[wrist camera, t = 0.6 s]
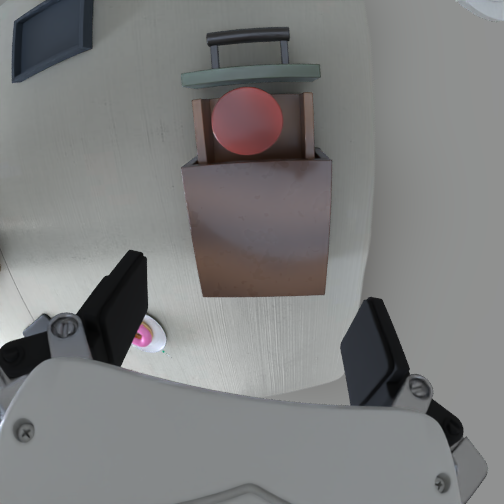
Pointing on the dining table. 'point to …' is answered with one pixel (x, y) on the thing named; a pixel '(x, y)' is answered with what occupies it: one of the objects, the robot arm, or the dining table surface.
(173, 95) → the dining table surface
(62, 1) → the tray
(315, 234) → the cabinet
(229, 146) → the red tall cylinder
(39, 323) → the smartphone
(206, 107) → the drawer
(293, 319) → the dining table surface
